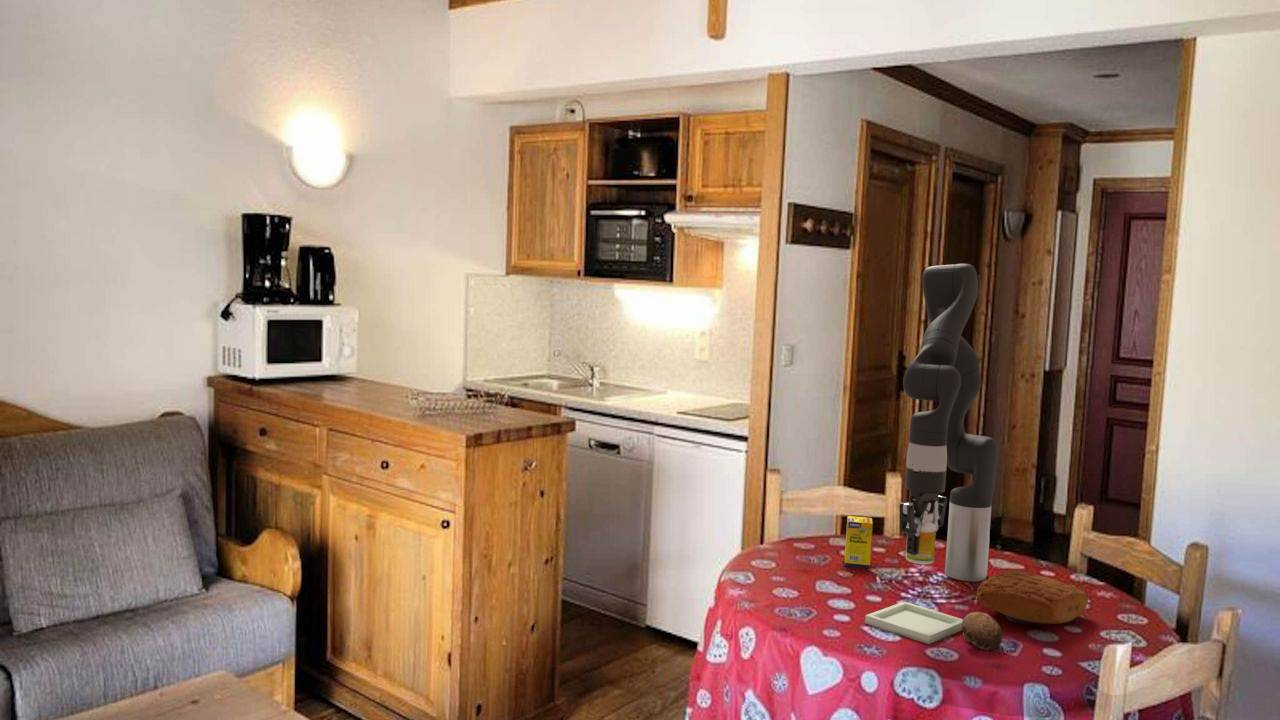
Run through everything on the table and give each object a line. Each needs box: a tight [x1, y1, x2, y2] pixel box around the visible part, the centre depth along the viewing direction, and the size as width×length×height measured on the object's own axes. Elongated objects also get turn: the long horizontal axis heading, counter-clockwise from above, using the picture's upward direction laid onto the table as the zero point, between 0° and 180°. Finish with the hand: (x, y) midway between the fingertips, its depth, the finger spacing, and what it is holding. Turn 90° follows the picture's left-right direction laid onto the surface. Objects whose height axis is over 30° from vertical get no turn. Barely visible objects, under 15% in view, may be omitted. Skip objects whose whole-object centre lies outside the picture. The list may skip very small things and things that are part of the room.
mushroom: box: [962, 611, 1004, 651], centre depth 185 cm, size 8×8×6 cm
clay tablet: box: [975, 570, 1089, 625], centre depth 201 cm, size 22×17×8 cm
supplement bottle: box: [905, 513, 937, 565], centre depth 193 cm, size 5×5×10 cm
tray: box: [864, 601, 964, 645], centre depth 194 cm, size 14×14×2 cm
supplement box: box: [844, 515, 874, 569], centre depth 235 cm, size 6×6×11 cm
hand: (920, 551), depth 193 cm, fingers closed on supplement bottle, 5 cm apart
